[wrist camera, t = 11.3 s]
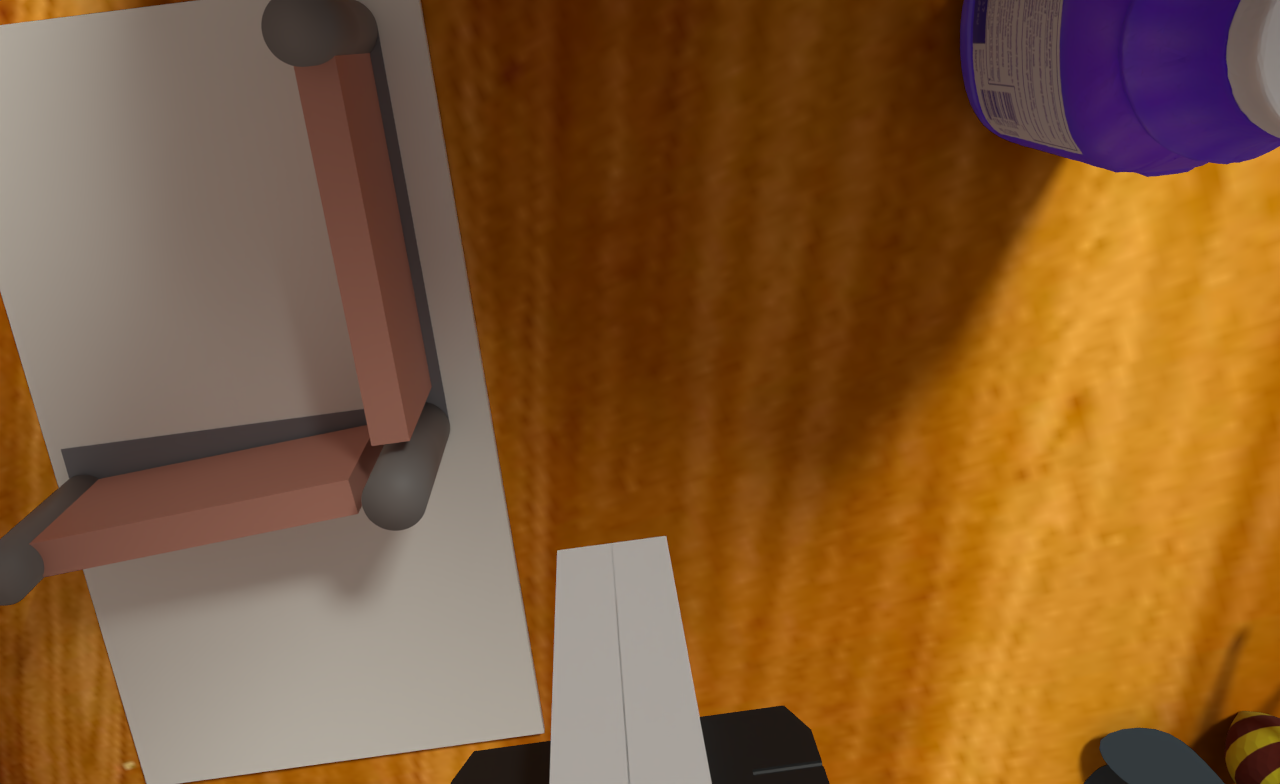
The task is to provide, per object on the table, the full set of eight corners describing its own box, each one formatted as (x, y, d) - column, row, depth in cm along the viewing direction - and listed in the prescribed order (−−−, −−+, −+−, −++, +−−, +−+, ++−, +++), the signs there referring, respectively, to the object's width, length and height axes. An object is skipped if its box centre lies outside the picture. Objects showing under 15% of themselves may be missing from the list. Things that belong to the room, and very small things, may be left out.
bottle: (1108, 134, 41) (1478, 202, 24) (950, 151, 41) (1212, 231, 24) (1113, -85, 38) (1524, -179, 22) (947, -69, 38) (1231, -149, 22)
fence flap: (375, 415, 41) (339, 482, 35) (387, 460, 42) (355, 535, 36) (53, 479, 42) (-40, 558, 35) (70, 524, 42) (-18, 610, 36)
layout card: (-69, 34, 38) (-77, 34, 37) (416, -27, 38) (414, -28, 37) (151, 781, 46) (147, 788, 46) (544, 727, 46) (544, 734, 46)
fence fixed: (310, 2, 38) (253, -5, 31) (371, -6, 38) (328, -15, 31) (400, 456, 42) (368, 534, 36) (454, 449, 42) (432, 526, 36)
